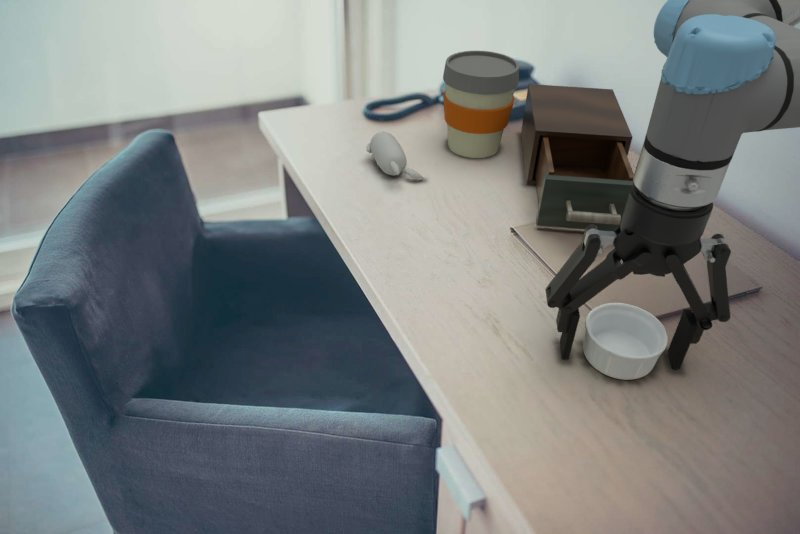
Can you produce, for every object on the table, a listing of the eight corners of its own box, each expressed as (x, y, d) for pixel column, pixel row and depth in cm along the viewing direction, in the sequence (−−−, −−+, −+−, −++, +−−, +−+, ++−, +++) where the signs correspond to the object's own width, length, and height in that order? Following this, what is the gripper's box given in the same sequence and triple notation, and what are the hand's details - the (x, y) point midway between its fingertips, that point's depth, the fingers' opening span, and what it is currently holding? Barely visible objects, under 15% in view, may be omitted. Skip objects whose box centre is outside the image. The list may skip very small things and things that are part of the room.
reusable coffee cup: (522, 146, 115) (536, 64, 105) (479, 170, 107) (489, 84, 98) (467, 124, 121) (475, 44, 112) (423, 145, 114) (428, 62, 105)
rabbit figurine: (357, 139, 107) (381, 183, 100) (381, 119, 106) (406, 162, 99) (378, 158, 112) (402, 202, 105) (401, 139, 111) (427, 182, 103)
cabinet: (617, 191, 103) (632, 136, 97) (526, 184, 104) (535, 130, 98) (600, 139, 118) (612, 89, 112) (520, 133, 119) (528, 83, 113)
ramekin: (659, 392, 70) (670, 364, 67) (576, 375, 71) (584, 347, 69) (655, 337, 76) (666, 310, 74) (579, 323, 78) (587, 296, 75)
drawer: (636, 250, 89) (651, 202, 84) (538, 242, 90) (548, 194, 85) (611, 173, 106) (622, 129, 101) (529, 167, 107) (536, 123, 102)
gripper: (547, 203, 58) (514, 369, 71) (821, 223, 57) (736, 389, 70) (541, 163, 64) (512, 323, 77) (789, 181, 63) (716, 341, 76)
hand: (618, 355), depth 74 cm, fingers open, 12 cm apart
